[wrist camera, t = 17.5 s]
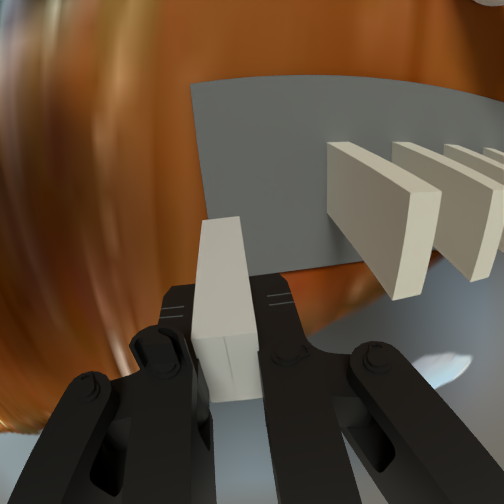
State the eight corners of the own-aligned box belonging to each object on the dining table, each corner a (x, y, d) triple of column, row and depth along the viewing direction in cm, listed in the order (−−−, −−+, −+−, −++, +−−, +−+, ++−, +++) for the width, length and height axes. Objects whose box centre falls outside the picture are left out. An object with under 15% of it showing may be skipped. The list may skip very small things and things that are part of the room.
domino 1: (326, 212, 21) (392, 300, 13) (326, 142, 19) (410, 192, 10) (347, 210, 21) (420, 294, 13) (349, 141, 19) (442, 191, 10)
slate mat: (218, 275, 24) (218, 279, 23) (190, 84, 17) (190, 84, 16) (548, 227, 25) (551, 229, 25) (565, 125, 18) (568, 126, 18)
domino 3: (437, 203, 22) (520, 267, 13) (444, 143, 19) (541, 190, 11) (451, 202, 22) (532, 264, 13) (457, 145, 19) (552, 190, 11)
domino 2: (388, 206, 21) (469, 282, 13) (392, 141, 19) (493, 189, 10) (405, 205, 22) (488, 277, 13) (410, 142, 19) (511, 189, 10)
